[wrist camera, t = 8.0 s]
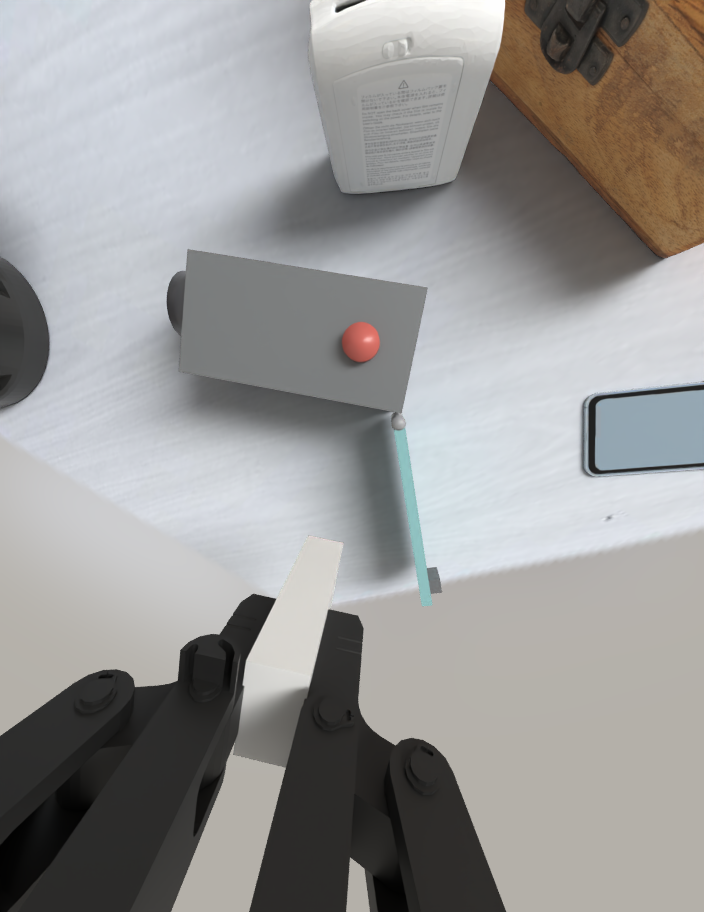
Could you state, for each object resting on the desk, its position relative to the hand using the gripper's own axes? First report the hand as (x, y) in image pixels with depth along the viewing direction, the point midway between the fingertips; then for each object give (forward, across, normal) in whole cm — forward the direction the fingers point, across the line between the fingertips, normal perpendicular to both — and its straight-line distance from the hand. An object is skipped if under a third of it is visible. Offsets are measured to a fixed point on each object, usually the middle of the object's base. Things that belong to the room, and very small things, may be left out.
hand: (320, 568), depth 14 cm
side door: (+17, +6, -1) cm, 18 cm away
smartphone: (+19, +26, +9) cm, 33 cm away
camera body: (+19, -6, +10) cm, 22 cm away
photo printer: (+19, -1, +25) cm, 32 cm away
